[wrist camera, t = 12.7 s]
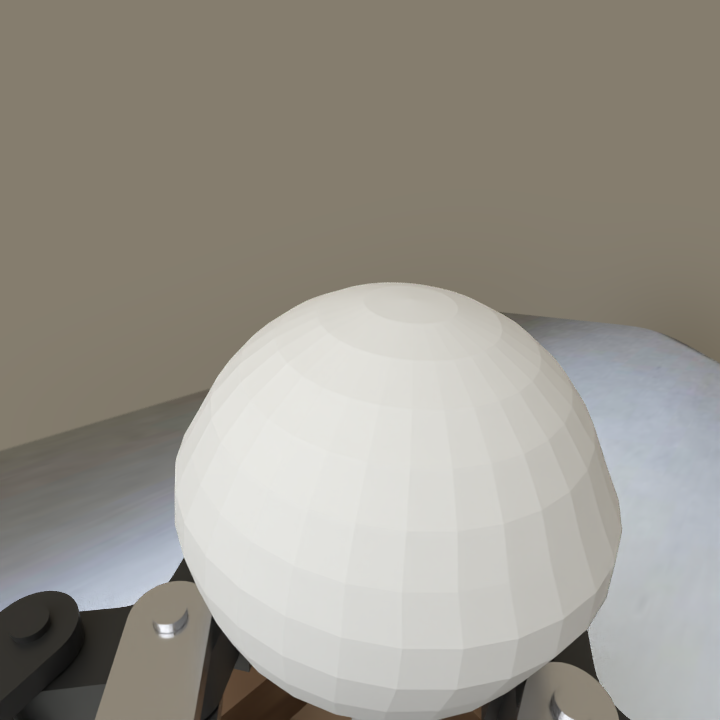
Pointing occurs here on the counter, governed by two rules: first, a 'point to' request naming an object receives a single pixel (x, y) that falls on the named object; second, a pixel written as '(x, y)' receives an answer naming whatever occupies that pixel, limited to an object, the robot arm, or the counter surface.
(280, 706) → the base
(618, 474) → the counter surface
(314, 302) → the lollipop
